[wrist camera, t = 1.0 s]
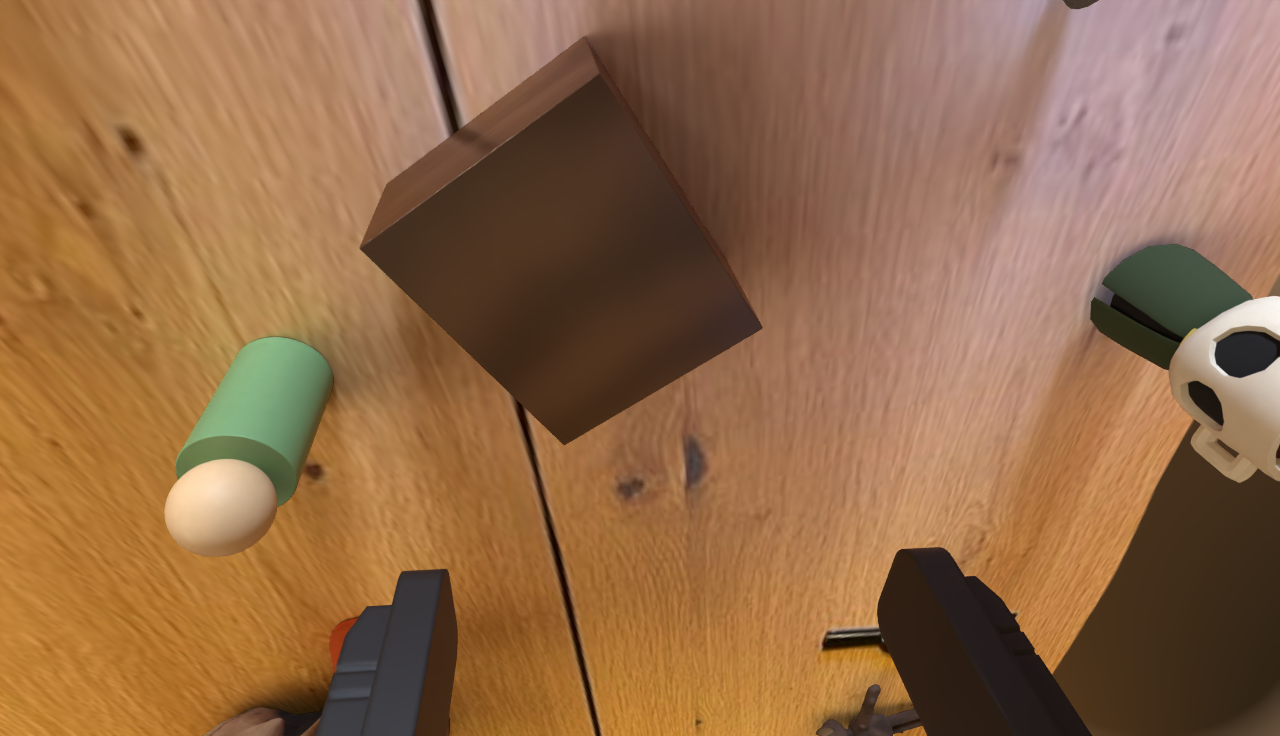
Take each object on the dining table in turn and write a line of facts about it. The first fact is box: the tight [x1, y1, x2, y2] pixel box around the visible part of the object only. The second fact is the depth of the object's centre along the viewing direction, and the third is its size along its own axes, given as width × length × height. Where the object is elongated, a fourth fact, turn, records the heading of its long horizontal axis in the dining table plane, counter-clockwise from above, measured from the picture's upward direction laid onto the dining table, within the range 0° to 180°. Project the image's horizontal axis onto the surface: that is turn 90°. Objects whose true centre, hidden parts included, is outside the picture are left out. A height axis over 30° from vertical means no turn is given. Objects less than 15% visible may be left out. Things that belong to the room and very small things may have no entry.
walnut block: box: [360, 37, 763, 445], centre depth 30 cm, size 13×11×6 cm
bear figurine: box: [816, 684, 923, 736], centre depth 68 cm, size 18×4×14 cm
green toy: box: [164, 337, 334, 557], centre depth 31 cm, size 5×5×11 cm
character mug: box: [1090, 244, 1280, 483], centre depth 35 cm, size 11×7×13 cm, turn 175°
